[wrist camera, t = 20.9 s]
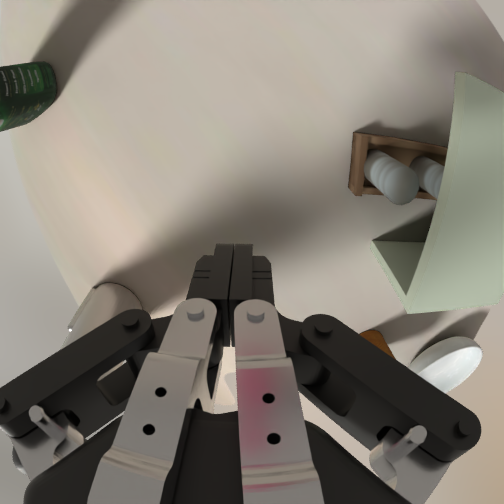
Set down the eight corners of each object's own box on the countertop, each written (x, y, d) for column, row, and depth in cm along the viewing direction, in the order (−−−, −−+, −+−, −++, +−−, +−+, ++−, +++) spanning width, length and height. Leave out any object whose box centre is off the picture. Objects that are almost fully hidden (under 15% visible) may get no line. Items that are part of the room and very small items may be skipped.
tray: (348, 187, 33) (374, 218, 25) (353, 131, 30) (384, 147, 22) (461, 197, 33) (498, 226, 25) (470, 153, 29) (511, 174, 21)
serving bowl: (407, 335, 48) (419, 361, 42) (482, 314, 46) (496, 336, 40) (386, 388, 58) (392, 411, 53) (453, 369, 57) (461, 389, 51)
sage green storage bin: (370, 247, 38) (407, 313, 26) (395, 72, 25) (465, 72, 14) (453, 250, 38) (497, 304, 26) (485, 105, 25) (553, 126, 13)
